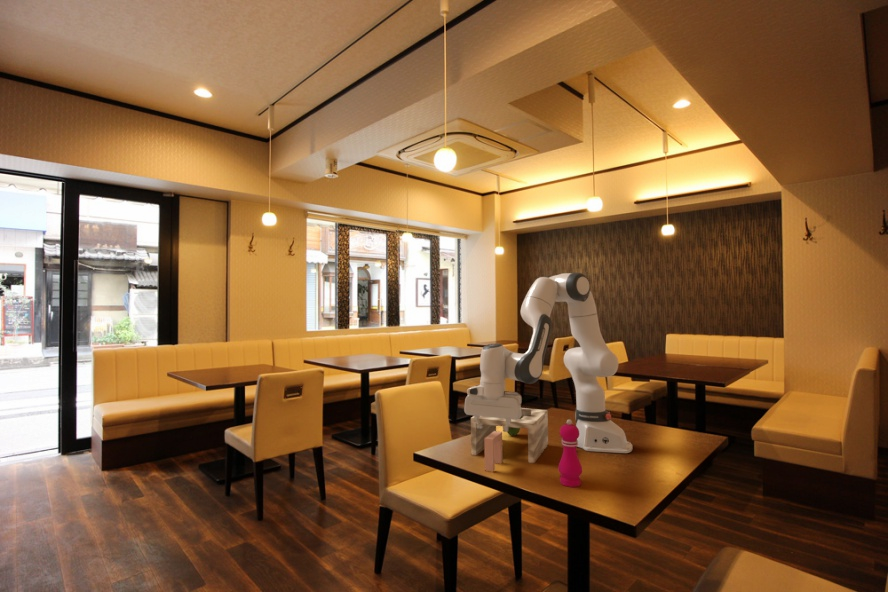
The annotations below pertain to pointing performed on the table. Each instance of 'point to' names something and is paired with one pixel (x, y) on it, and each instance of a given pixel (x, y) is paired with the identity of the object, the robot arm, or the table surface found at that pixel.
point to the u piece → (493, 450)
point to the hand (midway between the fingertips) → (492, 429)
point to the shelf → (532, 421)
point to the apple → (513, 430)
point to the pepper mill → (570, 456)
